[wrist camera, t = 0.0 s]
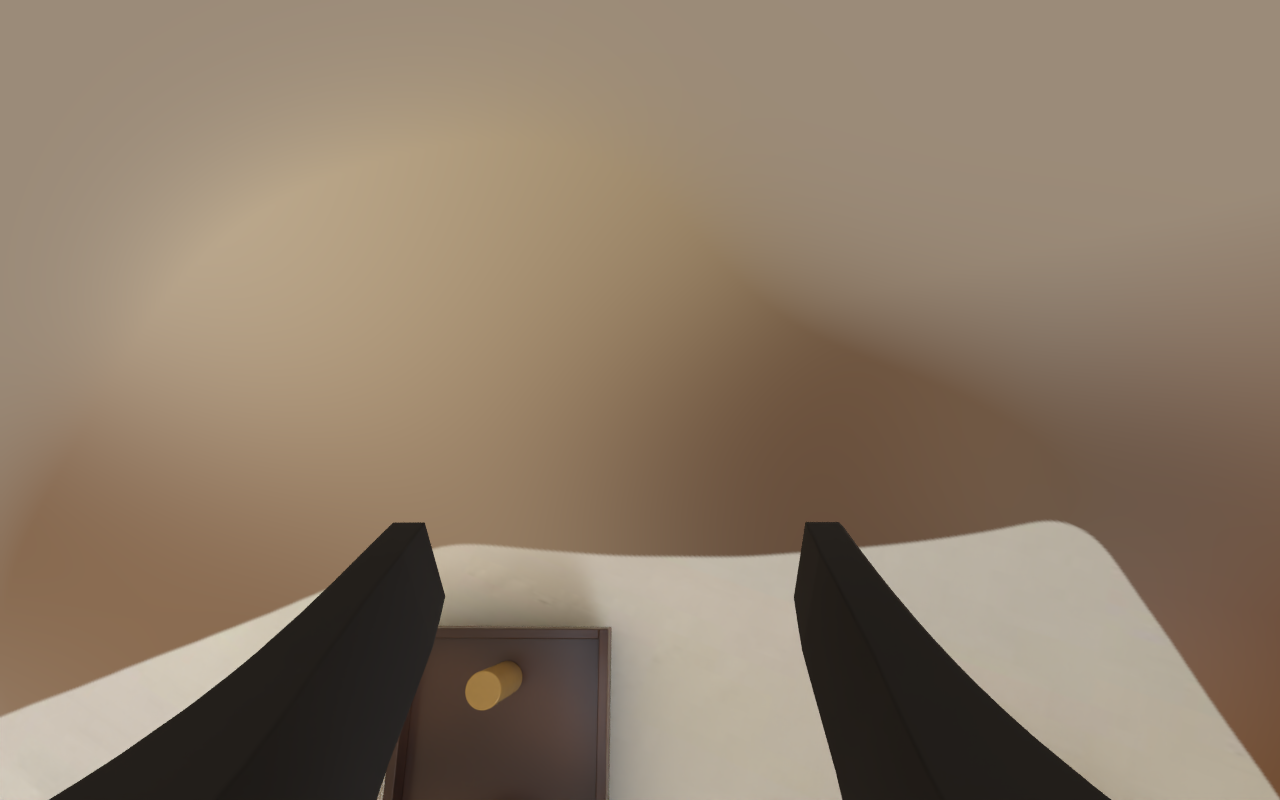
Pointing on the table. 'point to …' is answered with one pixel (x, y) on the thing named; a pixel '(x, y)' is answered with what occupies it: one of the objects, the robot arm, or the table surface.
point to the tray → (508, 717)
